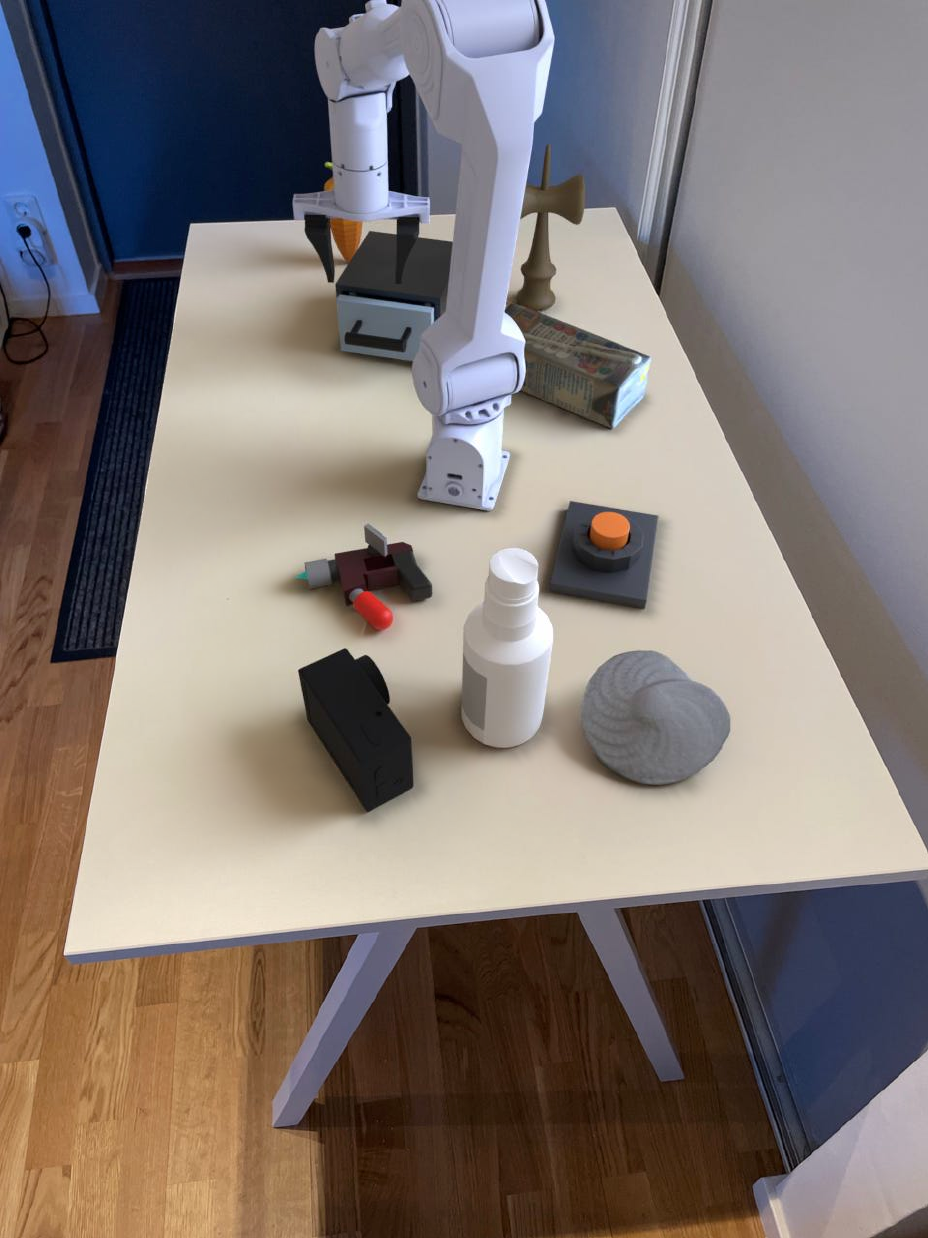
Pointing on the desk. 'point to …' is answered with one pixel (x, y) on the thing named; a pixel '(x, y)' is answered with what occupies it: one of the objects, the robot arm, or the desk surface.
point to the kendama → (546, 200)
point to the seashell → (652, 719)
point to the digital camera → (358, 726)
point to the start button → (609, 531)
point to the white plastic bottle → (506, 654)
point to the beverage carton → (579, 368)
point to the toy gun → (371, 575)
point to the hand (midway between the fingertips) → (365, 278)
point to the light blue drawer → (382, 325)
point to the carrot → (344, 228)
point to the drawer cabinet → (420, 277)
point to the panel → (604, 558)
